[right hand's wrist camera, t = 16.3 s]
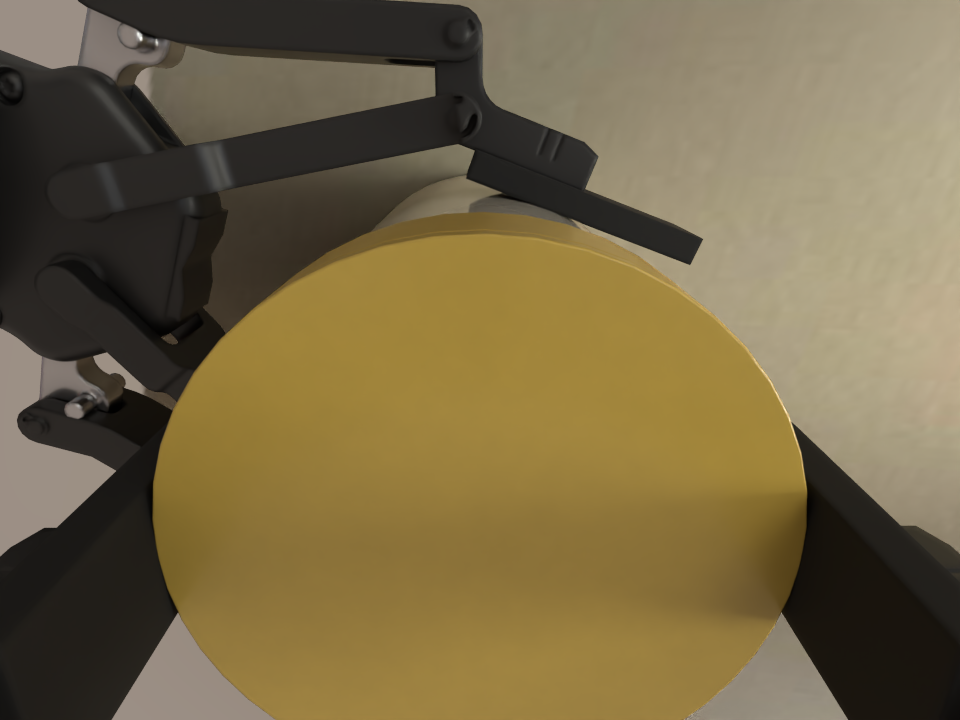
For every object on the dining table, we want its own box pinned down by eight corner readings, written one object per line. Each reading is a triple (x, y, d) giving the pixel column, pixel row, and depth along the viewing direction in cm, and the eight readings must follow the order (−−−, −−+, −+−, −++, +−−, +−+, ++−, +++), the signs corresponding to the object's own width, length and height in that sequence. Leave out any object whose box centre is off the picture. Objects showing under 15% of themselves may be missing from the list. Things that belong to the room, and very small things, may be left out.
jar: (578, 424, 27) (689, 760, 13) (351, 398, 27) (201, 717, 12) (625, 191, 24) (854, 295, 9) (364, 158, 23) (172, 212, 9)
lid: (719, 138, 10) (784, 142, 8) (770, 633, 14) (824, 726, 12) (113, 296, 11) (24, 337, 9) (317, 717, 15) (290, 818, 13)
